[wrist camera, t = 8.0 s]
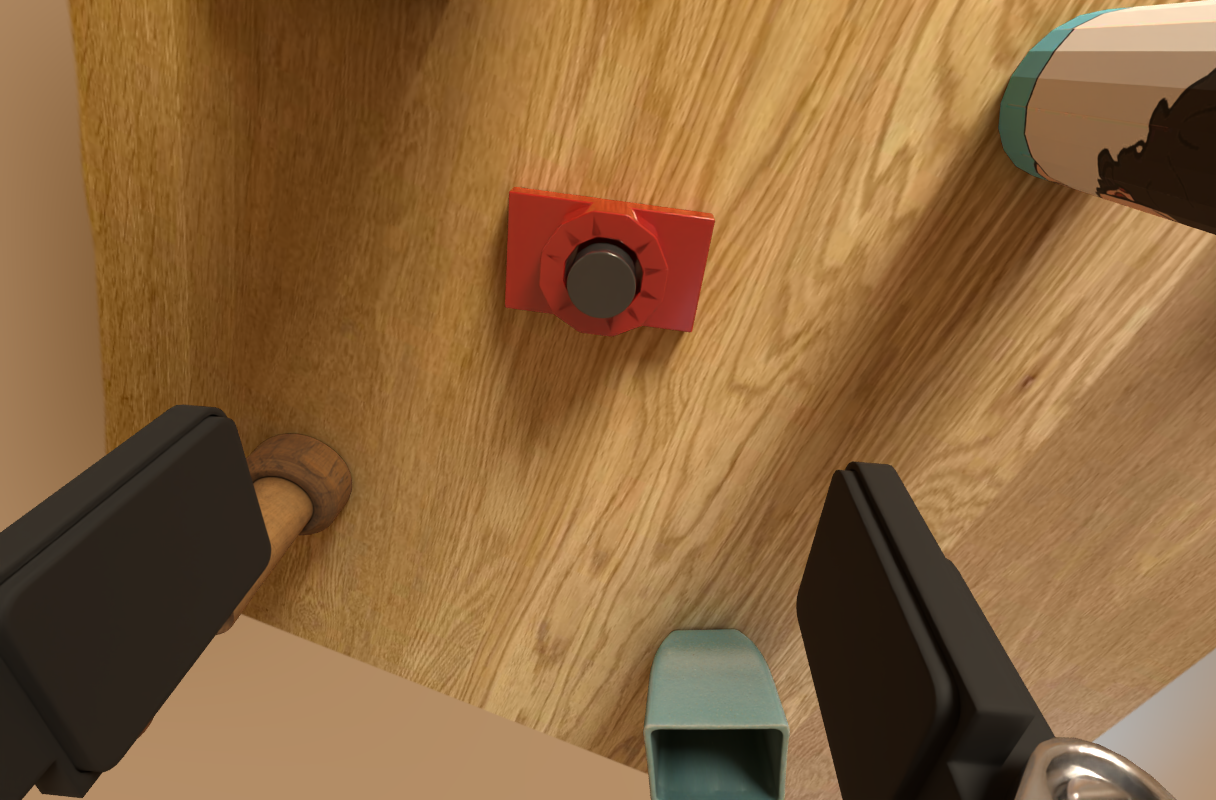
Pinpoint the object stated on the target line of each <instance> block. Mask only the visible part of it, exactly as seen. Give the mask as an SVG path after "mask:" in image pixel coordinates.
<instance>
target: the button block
mask: <svg viewBox="0 0 1216 800" xmlns="http://www.w3.org/2000/svg"><path fill="white" fill-rule="evenodd" d="M714 223H715V219H714V216H713V214H711V213H704V212H696V211H689V210H681V209H674V208H667V207H659V206H652V205H645V204H637V203H630V202H623V201H615V200H608V199H600V198H593V197H586V196H578V195H571V194H564V193H556V192H549V191H542V190H534V189H527V188H519V187H513V188H512V189H511V191H510V192H509V207H508V234H507V260H506V287H505V307H506V308H512V309H519V310H527V311H534V312H542V313H549V314H554V315H555V316H557V317H558V318H560V319H561V320H563V321H564V322H565V323H567V324H568V325H570V326H571V327H573V328H574V329H575V330H577V331H578V332H581V333H587V334H595V335H602V336H610V337H611V336H616V335H619V334H621V333H624V332H627V331H629V330H632V329H635V328H637V327H640V326H647V327H655V328H662V329H670V330H677V331H685V332H692V329H693V325H694V320H695V315H696V310H697V305H698V300H699V295H700V291H701V286H702V281H703V276H704V271H705V266H706V261H707V257H708V252H709V247H710V242H711V237H712V232H713V228H714ZM598 242H608V243H612V244H615V245H617V246H620V247H621V248H623V249H624V250H625V251H626V252H627V253H628V254H629V255H630V256H631V258H632V260H633V262H634V264H635V267H636V291H635V296H634V298H633V300H632V302H631V304H630V305H629V306H628V308H627V309H626V310H624V311H623V312H622V313H620V314H618V315H616V316H614V317H610V318H594V317H591V316H588V315H586V314H584V313H582V312H581V311H580V310H578V309H577V308H576V307H575V306H574V304H573V303H572V301H571V299H570V297H569V295H568V291H567V277H568V274H569V271H570V268H571V265H572V262H573V260H574V258H575V256H576V255H577V254H578V253H579V252H580V251H581V250H582V249H583V248H585V247H586V246H588V245H590V244H593V243H598Z"/></svg>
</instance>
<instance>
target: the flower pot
mask: <svg viewBox="0 0 1216 800" xmlns="http://www.w3.org/2000/svg"><path fill="white" fill-rule="evenodd" d="M643 735H644V742H645V749H646V757H647V765H648V775H649V785H650V796H651V800H785V779H786V766H787V752H788V743H789V736H790V729H789V726H788V722H787V719H786V716H785V713H784V710H783V707H782V704H781V701H780V698H779V695H778V692H777V689H776V686H775V683H774V680H773V678H772V675H771V672H770V669H769V667H768V665H767V663H766V661H765V659H764V657H763V655H762V654H761V652H760V651H759V650H758V648H757V647H756V646H755V644H754V643H753V642H752V641H751V640H750V639H749V638H747V637H746V636H745V635H744V634H742V633H741V632H740V631H739V630H736V629H718V630H676V631H672V632H671V633H670V634H669V635H668V636H667V637H666V638H665V640H664V641H663V642H662V644H661V645H660V647H659V648H658V650H657V652H656V654H655V657H654V660H653V663H652V666H651V672H650V678H649V686H648V695H647V703H646V713H645V720H644V729H643Z"/></svg>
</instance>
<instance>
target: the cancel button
mask: <svg viewBox="0 0 1216 800" xmlns="http://www.w3.org/2000/svg"><path fill="white" fill-rule="evenodd" d="M567 291H568V295H569V297H570V299H571V301H572V303H573V304H574V306H575V307H576V308H577V309H578V310H580V311H581V312H582V313H584V314H586V315H588V316H591V317H594V318H610V317H614V316H616V315H618V314H620V313H622V312H623V311H624V310H626V309H627V308H628V306H629V305H630V304H631V302H632V300H633V298H634V296H635V291H636V267H635V264H634V262H633V260H632V258H631V256H630V255H629V254H628V253H627V252H626V251H625V250H624V249H623V248H621V247H620V246H617V245H615V244H612V243H608V242H598V243H593V244H590V245H588V246H586V247H585V248H583V249H582V250H581V251H580V252H579V253H578V254H577V255H576V256H575V258H574V260H573V262H572V265H571V268H570V271H569V274H568V277H567Z"/></svg>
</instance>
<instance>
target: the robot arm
mask: <svg viewBox="0 0 1216 800" xmlns="http://www.w3.org/2000/svg"><path fill="white" fill-rule="evenodd" d="M271 550H272V548H271V543H270V539H269V536H268V533H267V529H266V526H265V522H264V519H263V516H262V512H261V509H260V505H259V502H258V498H257V495H256V492H255V488H254V485H253V481H252V478H251V475H250V471H249V468H248V464H247V461H246V458H245V454H244V451H243V447H242V444H241V441H240V437H239V434H238V430H237V427H236V425H235V423H234V421H233V420H232V419H230V418H227V416H226V414H225V413H224V412H223V411H222V410H221V409H218V408H216V407H204V406H192V405H176V406H174V407H172V408H170V409H169V410H167V411H166V412H164V413H163V414H162V415H160V416H159V417H158V418H156V419H155V420H154V421H152V422H151V423H149V424H148V425H147V426H145V427H144V428H143V429H141V430H140V431H139V432H137V433H136V434H134V435H133V436H132V437H130V438H129V439H128V440H126V441H125V442H123V443H122V444H121V445H119V446H118V447H117V448H115V449H114V450H113V451H111V452H110V453H108V454H107V455H106V456H104V457H103V458H102V459H100V460H99V461H98V462H96V463H95V464H93V465H92V466H91V467H89V468H88V469H87V470H85V471H84V472H83V473H81V474H80V475H78V476H77V477H76V478H74V479H73V480H72V481H70V482H69V483H67V484H66V485H65V486H63V487H62V488H61V489H59V490H58V491H57V492H55V493H54V494H53V495H51V496H50V497H48V498H47V499H46V500H44V501H43V502H42V503H40V504H39V505H38V506H36V507H35V508H33V509H32V510H31V511H29V512H28V513H26V514H25V515H24V516H22V517H21V518H20V519H19V520H17V521H16V522H14V523H13V524H11V525H10V526H9V527H7V528H6V529H5V530H3V531H2V532H0V800H22V798H24V796H25V795H26V794H27V793H28V791H29V790H30V789H31V788H32V787H33V786H34V785H36V786H37V788H38V789H39V791H40V792H41V793H42V794H49V795H58V796H68V797H77V798H83V797H84V796H85V794H86V793H87V792H88V791H89V789H90V788H91V787H92V785H93V784H94V783H95V781H96V780H97V779H98V777H99V776H100V775H101V774H102V772H106V771H108V770H110V769H111V768H113V767H114V766H115V765H117V764H118V762H119V761H120V760H121V759H122V758H123V757H124V755H125V754H126V753H127V751H128V750H129V749H130V747H131V746H132V745H133V744H134V742H135V741H136V739H137V738H138V737H139V736H140V734H141V733H142V732H143V730H144V729H145V728H146V726H147V725H148V724H149V722H150V721H151V720H152V718H153V717H154V716H155V714H156V713H157V712H158V710H159V709H160V708H161V706H162V705H163V704H164V702H165V701H166V700H167V699H168V697H169V696H170V695H171V693H172V692H173V691H174V689H175V688H176V687H177V685H178V684H179V683H180V681H181V680H182V679H183V677H184V676H185V675H186V673H187V672H188V671H189V670H190V668H191V667H192V666H193V664H194V663H195V662H196V660H197V659H198V658H199V656H200V655H201V654H202V652H203V651H204V650H205V648H206V647H207V646H208V644H209V643H210V642H211V640H212V639H213V638H214V636H215V635H216V634H217V633H218V631H219V630H220V629H221V627H222V626H223V625H224V623H225V622H226V621H227V619H228V618H229V617H230V615H231V614H232V613H233V611H234V610H235V609H236V607H237V606H238V605H239V603H240V602H241V601H242V600H243V598H244V597H245V596H246V594H247V593H248V592H249V590H250V589H251V588H252V586H253V585H254V584H255V582H256V581H257V580H258V578H259V577H260V576H261V574H262V573H263V572H264V570H265V569H266V567H267V566H268V563H269V561H270V558H271ZM796 609H797V617H798V622H799V626H800V630H801V634H802V638H803V642H804V646H805V650H806V654H807V658H808V662H809V666H810V670H811V674H812V678H813V682H814V686H815V690H816V694H817V698H818V702H819V706H820V710H821V714H822V718H823V722H824V726H825V730H826V734H827V739H828V743H829V747H830V751H831V755H832V759H833V763H834V767H835V771H836V775H837V779H838V783H839V787H840V791H841V795H842V799H843V800H1176V799H1175V798H1174V797H1173V796H1172V795H1171V794H1170V793H1169V792H1168V791H1167V790H1166V789H1165V788H1164V787H1163V786H1162V785H1161V784H1160V783H1159V782H1158V781H1156V780H1155V779H1154V778H1153V777H1152V776H1151V775H1150V774H1148V773H1147V772H1145V771H1144V770H1142V769H1141V768H1140V767H1138V766H1136V765H1135V764H1134V763H1133V762H1131V761H1129V760H1128V759H1127V758H1125V757H1123V756H1121V755H1119V754H1117V753H1115V752H1113V751H1111V750H1109V749H1107V748H1105V747H1103V746H1101V745H1099V744H1095V743H1092V742H1088V741H1085V740H1081V739H1078V738H1059V737H1055V736H1054V734H1053V732H1052V731H1051V729H1050V727H1049V725H1048V724H1047V722H1046V720H1045V719H1044V717H1043V715H1042V713H1041V712H1040V710H1039V708H1038V706H1037V705H1036V703H1035V701H1034V700H1033V698H1032V696H1031V694H1030V693H1029V691H1028V689H1027V688H1026V686H1025V684H1024V682H1023V681H1022V679H1021V677H1020V676H1019V674H1018V672H1017V670H1016V669H1015V667H1014V665H1013V664H1012V662H1011V660H1010V658H1009V657H1008V655H1007V653H1006V652H1005V650H1004V648H1003V646H1002V645H1001V643H1000V641H999V639H998V638H997V636H996V634H995V633H994V631H993V629H992V627H991V626H990V624H989V622H988V621H987V619H986V617H985V615H984V614H983V612H982V610H981V609H980V607H979V605H978V603H977V602H976V600H975V598H974V597H973V595H972V593H971V591H970V590H969V588H968V586H967V585H966V583H965V581H964V579H963V578H962V576H961V574H960V572H959V571H958V569H957V568H956V567H955V565H954V564H953V563H952V562H951V561H950V560H948V559H947V558H945V556H944V554H943V553H942V551H941V549H940V547H939V546H938V544H937V542H936V540H935V539H934V537H933V535H932V533H931V532H930V530H929V528H928V526H927V525H926V523H925V521H924V519H923V518H922V516H921V514H920V512H919V511H918V509H917V507H916V505H915V504H914V502H913V500H912V498H911V497H910V495H909V493H908V491H907V490H906V488H905V486H904V484H903V483H902V481H901V479H900V477H899V476H898V474H897V472H896V470H895V469H894V468H893V467H892V466H891V465H888V464H877V463H865V462H850V463H849V464H848V465H847V467H846V469H845V470H836V471H835V473H834V474H833V477H832V480H831V483H830V486H829V490H828V493H827V497H826V500H825V503H824V507H823V510H822V513H821V517H820V520H819V524H818V527H817V530H816V534H815V537H814V540H813V544H812V547H811V551H810V554H809V557H808V561H807V564H806V567H805V571H804V574H803V578H802V581H801V584H800V588H799V591H798V595H797V607H796Z"/></svg>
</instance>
